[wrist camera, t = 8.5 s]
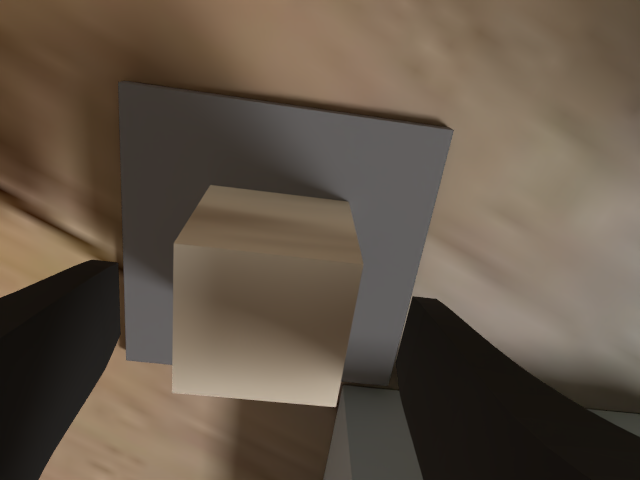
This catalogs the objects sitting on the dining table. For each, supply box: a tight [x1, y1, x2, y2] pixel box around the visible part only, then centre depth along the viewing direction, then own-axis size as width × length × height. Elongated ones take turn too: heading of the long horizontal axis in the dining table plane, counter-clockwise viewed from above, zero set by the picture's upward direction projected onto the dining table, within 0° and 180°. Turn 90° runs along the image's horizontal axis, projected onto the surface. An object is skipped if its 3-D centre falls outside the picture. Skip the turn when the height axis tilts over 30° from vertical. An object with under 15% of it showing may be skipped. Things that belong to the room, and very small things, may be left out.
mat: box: [118, 81, 454, 386], centre depth 15 cm, size 9×9×1 cm
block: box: [172, 185, 364, 407], centre depth 13 cm, size 4×4×4 cm
